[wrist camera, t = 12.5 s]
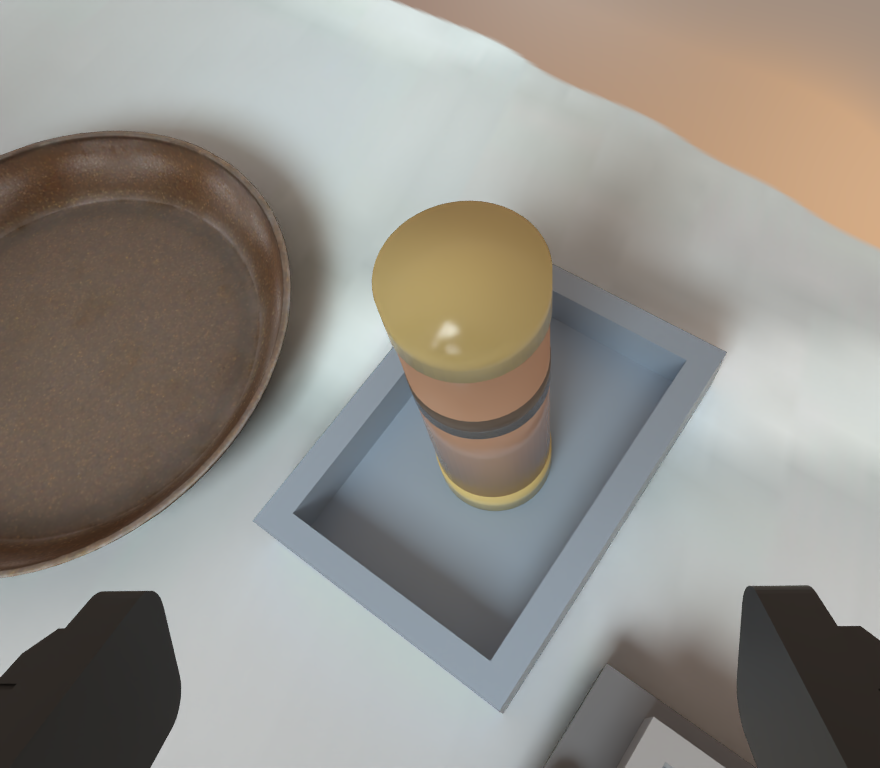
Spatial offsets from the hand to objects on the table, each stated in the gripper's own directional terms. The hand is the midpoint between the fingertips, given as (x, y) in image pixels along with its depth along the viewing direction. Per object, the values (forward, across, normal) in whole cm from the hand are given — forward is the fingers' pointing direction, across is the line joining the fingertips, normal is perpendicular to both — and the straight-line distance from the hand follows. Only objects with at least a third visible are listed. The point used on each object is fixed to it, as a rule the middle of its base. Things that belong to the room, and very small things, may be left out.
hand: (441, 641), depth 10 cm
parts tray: (+17, 0, +6) cm, 18 cm away
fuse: (+17, 0, +5) cm, 17 cm away
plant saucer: (+22, +18, +2) cm, 28 cm away
